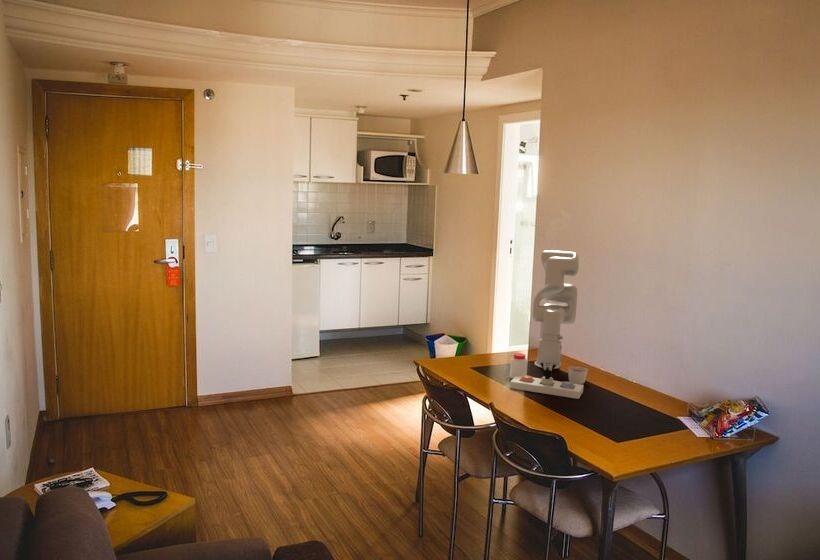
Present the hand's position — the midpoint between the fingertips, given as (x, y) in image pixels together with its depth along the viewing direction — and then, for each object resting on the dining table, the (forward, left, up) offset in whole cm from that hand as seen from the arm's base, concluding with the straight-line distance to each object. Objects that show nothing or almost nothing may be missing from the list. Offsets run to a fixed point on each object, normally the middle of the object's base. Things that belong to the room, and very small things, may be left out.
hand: (547, 378), depth 300 cm
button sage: (0, 0, -4) cm, 4 cm away
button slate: (0, +9, -5) cm, 10 cm away
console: (0, 0, -5) cm, 5 cm away
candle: (-20, +10, -6) cm, 23 cm away
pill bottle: (-13, -16, -6) cm, 22 cm away
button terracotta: (0, -9, -5) cm, 10 cm away
